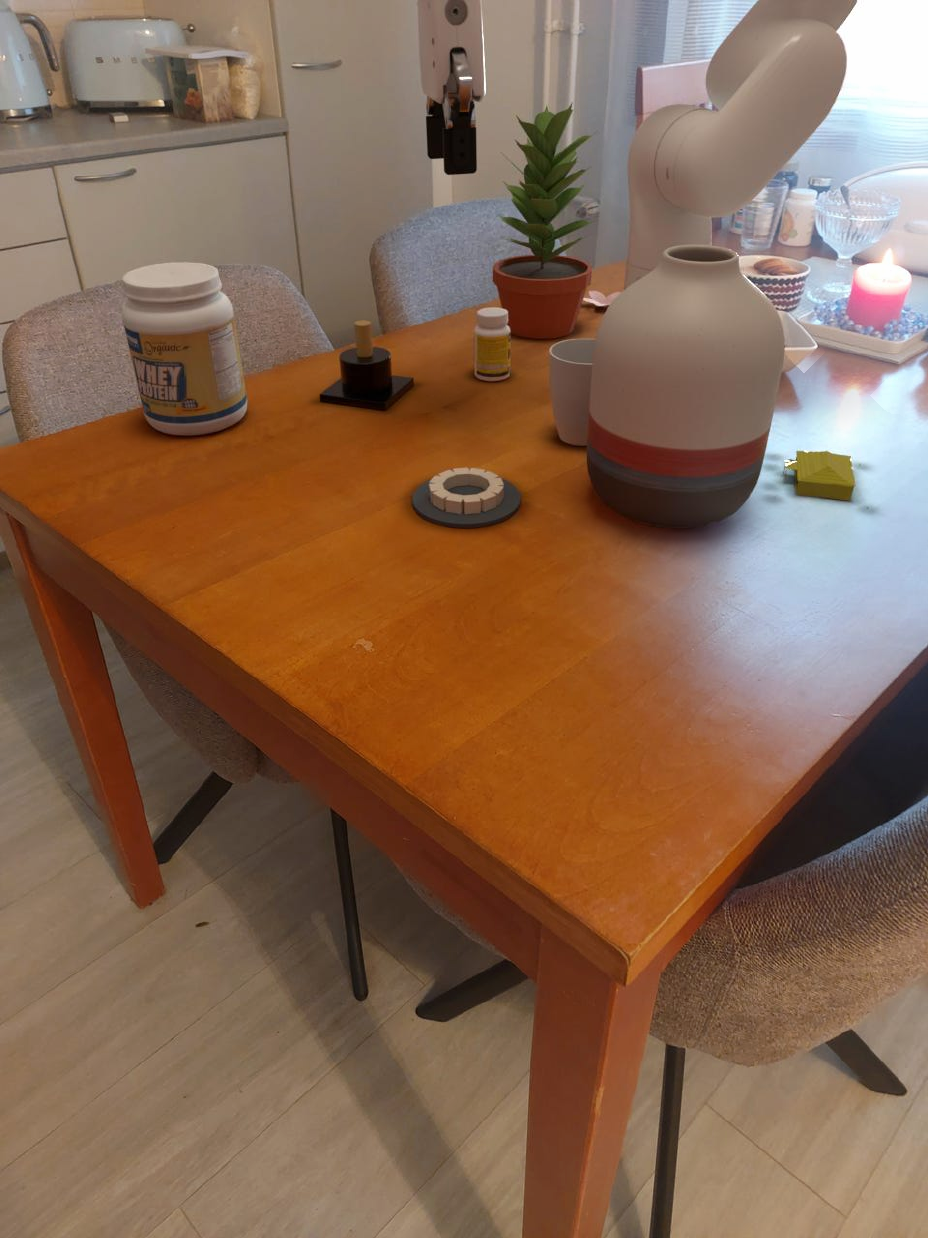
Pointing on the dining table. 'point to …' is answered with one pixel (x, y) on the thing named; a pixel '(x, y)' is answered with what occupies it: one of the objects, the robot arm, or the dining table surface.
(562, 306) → the potted plant
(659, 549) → the dining table surface
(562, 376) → the cup
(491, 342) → the supplement bottle
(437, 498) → the ring
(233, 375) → the supplement tub
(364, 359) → the ring holder
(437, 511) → the coaster
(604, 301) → the flower
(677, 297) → the vase
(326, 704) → the dining table surface
